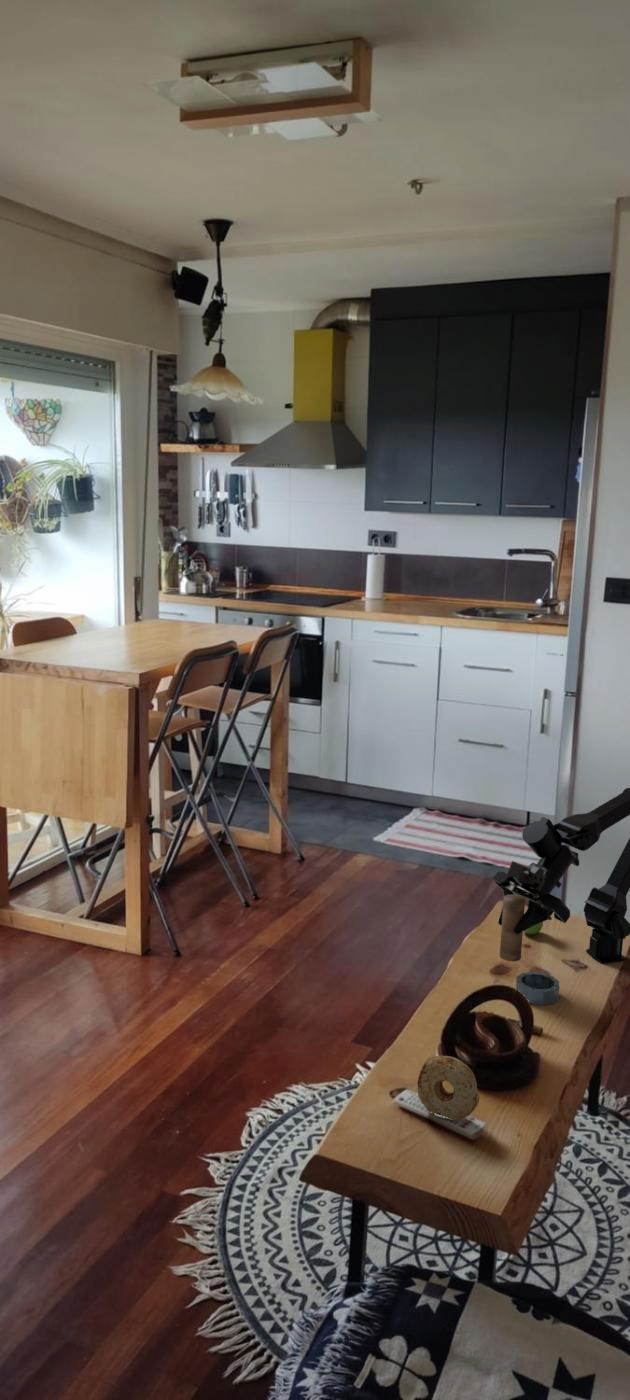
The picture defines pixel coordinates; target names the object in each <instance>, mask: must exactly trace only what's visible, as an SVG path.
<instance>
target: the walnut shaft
mask: <svg viewBox="0 0 630 1400" xmlns="http://www.w3.org/2000/svg"><path fill="white" fill-rule="evenodd" d="M502 899H503V900H502V908H503V914H502V926H501V932H500V946H499V958H500V959H502V960H504V961H507V962H518V961H521V959H522V951H523V950H522V948H523V935H524V934H523V933H524V931H523V932H521V933H519V934H516V933H515V932H514V929H515V928H516V926H517V924H518V923H519V921H520V920H521V918H522V917H523V915H524V913H525V908H526V907H525V905H526V898H525V897H523V896H519V895H514V894H510V895H505V896H504V895H503V898H502Z"/></svg>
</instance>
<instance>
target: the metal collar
mask: <svg viewBox="0 0 630 1400" xmlns="http://www.w3.org/2000/svg"><path fill="white" fill-rule="evenodd" d="M516 989H517V990H519V991H520V992H521V993H522V994H524V995H525V997H526V998H527V999H528V1000H529V1002H530V1003H531V1004H530V1003H529V1004H530V1005H536V1006H548V1005H553V1004H555V1003H557V1001H559V995H560V994H559V993H560V981H559V980H558V979H557V978H555V977H554V976H552V975H549V974H547V973H544V972H539V971H527V972H522V973H520V974H518V975H517V976H516V981H515V990H516Z"/></svg>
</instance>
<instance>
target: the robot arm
mask: <svg viewBox="0 0 630 1400" xmlns="http://www.w3.org/2000/svg"><path fill="white" fill-rule="evenodd" d="M629 816H630V787H626V788H624V789H623V791H622V792H621V793H620V794H618V795H616V796H615V797H613V798H610V800H607V801H606V802H604V803H602V804H601V805H599V806H597V807H596V808H594V809H593V810H591V811H588V812H586V813H577V814H576V813H575V814H573V815H570V816H567V817H564V818H563V819H562V820H561V821H560V822H558V823H555V824H553V822H552V821H551V820H550V819H549V818H547V817H544V816H543V817H541V818H540V819H539V820H536V821H533V822H531V823H530V824H528V825H526V826H525V828H524V829H523V831H522V834H521V835H522V839H523V841H524V842H525V843H526V844H527V845H528V847H529V848H530V849H531V851H532V852H533V853H534V854H535V855H536V856H537V857H538V858H539V860H538V861H537V862H536V863H535V862H531V863H530V864H529V865H528V866H527V865H524V864H522V863H519V862H516V861H514V860H512V861H511V863H510V866H509V869H508V872H505V871H497V872H496V873H495V875H494V876H493V877H492V879H491V881H492V882H494V883H495V885H496V886H497V887H498V888H499V889H500V890H501V891H502V892H503V897H504V896H505V895H510V894H514V895H519V896H522V897H524V898H525V899H526V900H528V904H527V906H528V907H527V909H526V911H524V913H525V914H524V915H523V917H522V918H521V920H520V921H519V923H518V924H517V926H516V928H515V929H514V932H515V933H516V934H519V933H521V932H523V933H524V930H526V929H528V928H530V927H532V926H534V925H536V924H538V923H541V922H543V923H544V922H545V921H552V919H553V918H552V917H551V916H552V915H553V916H554V919H555V920H557V921H559V922H561V923H563V924H566V923H567V922H568V920H569V919H570V917H571V909H570V908H569V907H568V906H567V905H566V904H565V903H564V902H563V900H562V899H561V898H558V897H557V896H555V895H552V894H551V893H552V892H553V890H554V889H555V888H557V889H560V887H561V886H562V883H561V879H562V877H563V876H564V874H565V873H566V872H567V871H568V869H569V868H570V866H571V865H574V866H575V867H579V866H580V859H579V853H578V852H576V851H574V850H571V849H570V847H571V848H574V849H576V850H578V851H582V852H585V851H587V850H589V849H590V848H591V847H593V846H594V845H595V844H596V843H597V842H598V841H599V840H600V838H601V834H602V833H603V832H605V830H608V829H609V828H611V827H612V826H614V825H616V824H618V823H619V822H620V821H622V820H624V819H625V818H628V817H629ZM629 891H630V837H629V838H628V840H627V842H626V844H625V846H624V848H623V850H622V852H621V854H620V856H619V857H618V860H617V862H616V864H615V865H614V866H613V869H612V871H611V873H610V875H609V877H608V879H607V881H606V883H605V884H604V885H603V886H600V887H599V888H597V887H593V888H592V889H591V890H590V893H589V896H588V897H587V899H586V900H585V901H584V903H585V905H584V906H583V912H584V917H585V922H586V926H588V927H591V928H592V929H591V935H590V937H589V946H588V947H589V948H587V949H586V950H585V952H586V954H589V955H590V956H592V957H593V959H595V960H597V961H598V962H599V963H601V964H607V963H613V962H622V961H626V959H627V958H626V956H624V955H623V944H624V940H625V939H626V937H629V936H630V922H629V921H628V920H627V919H626V918H625V917H626V913H627V911H628V904H627V895H628V893H629ZM534 897H535V898H534ZM502 914H503V907H502V908H501V912H500V915H499V918H498V922H497V924H498V925H499V926H501V927H502ZM621 960H622V961H621Z"/></svg>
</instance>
